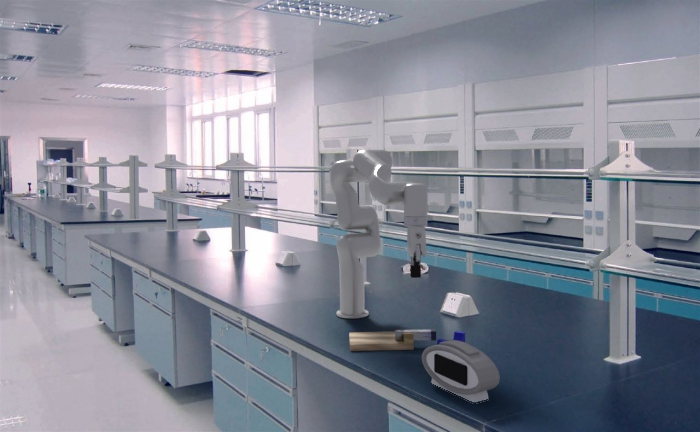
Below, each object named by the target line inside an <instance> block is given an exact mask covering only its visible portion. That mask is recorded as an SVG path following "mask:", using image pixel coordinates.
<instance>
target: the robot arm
mask: <svg viewBox="0 0 700 432" xmlns="http://www.w3.org/2000/svg"><path fill="white" fill-rule="evenodd" d="M392 166H393V157H392V155H391V154H390V152H389V151H387V150H385V149H362V150H359V151H358V152H356V153H355V154H354V156H353V159H343V160H338V161H336V162H334V163H333V164H332V166H331V168H330V173H329V174H330V175H329V177H330V183H331V187H332V190H333V193H334V197H335V205H336V214H337V215H336V216H337V224H338V227H339V228H340V229H341V230H342V231H362V233H361V232H359V233H358V232H356V233H348V234H344V235H341V236H339V238H338V239H337V241H336V252H337V259H338V266H339V269H338V270H339V273H338V274H339V309H338V310H337V311H336V312H335V314H336V316H337V317H338V318H342V319H351V320H352V319H363V318H366V317H367V316H369V315H370V314H369V310H367V309H365V306H366V305H365V302H366V301H365V269H364V267H363V264H362V263H361V262H360V260H359V259H363V258H371V257H372V258H373V257H376V256H377V255H379V254H380V251H381V235H380V225H379V217H378V213H377V211H376V209H375V208H374V207H373V206H372V205H368V204H366V205H365V204H362V205H359V200H358V194H357V191H356V190H355V188H354V187H353V185H351V184H350V183H367V182H368V189H369V192H370V195H371V196H372V197H373V198H374V199H375V200H376V201H378V203H380V204H382V205H384V206H396V205H397V206H398V205H400V206H401V205H402V206H403V226H404V227H406V228H407V229H406V232H407V233H406V234H407V235H406V246H407V247H406V250H407V254H408V255H409V256H410V264H409V266H410V268H409V269H410V272H409V273H410V278H411V279H415V278H416V279H418V278H421V277H422V265H421V264H422V261H421V260H422V257H423V258H426V257H427V236H426V235H427V233H426V227H428V186H427V185H426V184H425V183H420V182H417V183H415V182H414V181H413V182H412V181H395V182H394V181H392V182H391V181H390V180H391V177H392V174H393V173H392ZM389 181H390V182H389Z"/></svg>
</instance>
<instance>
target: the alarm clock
mask: <svg viewBox="0 0 700 432" xmlns="http://www.w3.org/2000/svg"><path fill="white" fill-rule="evenodd" d="M448 340H449V339H448ZM421 361H422V362H421V363H422V365H423V367H424V370H425V371H426V372H427V374H428V376H430V377H431V383H432V385H433V384H434V385H433V386H435V385H436V387H437V386H438V388H439V387H441V388H440V389H442V388H443V389H442V390H444V389H445V390H444V391H446V390H448V391H450V392H452V393H454V394H456V395H458V396H461V397H463V398H465V399H467V400H469V401H472V402H478V401H482V400H486V399H488V400H489V394H488V393H489V392H488V391H490V390H493V389H495V388H496V387H498V385H499V383H500V379H501V376H500V371H499V370H498V368H497V365H496V364H495V363H494V361H492V359H491V358H490V357H489V355H487V354H485V352H483V351H481V350H479V349H478V348H476V347H474V346H473V345H471V344H469V343H467V342H466V341H465V342H462V341H457V340H453V339H452V340H449V341H444V342H440V343H439V345H437V344H434V345H430V346H428V347H426V348H425V349H424V350H423V352H422V355H421ZM448 391H447V392H448ZM450 392H449V393H450ZM452 393H451V394H452ZM454 394H453V395H454ZM456 395H455V396H456ZM458 396H457V397H458ZM465 399H464V400H465ZM467 400H466V401H467ZM469 401H468V402H469Z"/></svg>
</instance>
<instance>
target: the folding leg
mask: <svg viewBox="0 0 700 432" xmlns="http://www.w3.org/2000/svg"><path fill="white" fill-rule="evenodd" d="M394 332H395V340H396V341H404V333H413V334H414V341H433V342H434V341H435V342H436V341H437V330H436V328H430V329H395V330H394Z"/></svg>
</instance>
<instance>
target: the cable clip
mask: <svg viewBox="0 0 700 432" xmlns="http://www.w3.org/2000/svg"><path fill="white" fill-rule="evenodd" d="M452 340H457V341H462V342H465V343H466V332H465V331H459V330H456V331H453V338H452ZM436 341H437V342H436V343H437V344H436V345H439V343H440V342H444V341H449V339H444V338H437V339H436Z"/></svg>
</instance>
